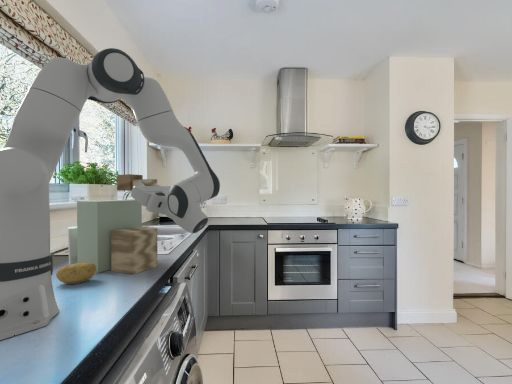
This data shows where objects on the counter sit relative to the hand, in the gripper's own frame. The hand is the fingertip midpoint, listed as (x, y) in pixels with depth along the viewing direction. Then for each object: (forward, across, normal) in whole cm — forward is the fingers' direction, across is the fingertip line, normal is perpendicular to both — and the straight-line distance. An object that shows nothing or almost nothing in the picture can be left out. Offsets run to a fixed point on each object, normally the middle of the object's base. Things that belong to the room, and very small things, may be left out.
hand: (145, 183), depth 106 cm
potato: (-8, +20, +33) cm, 39 cm away
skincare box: (+11, +5, +44) cm, 45 cm away
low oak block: (-11, 0, +31) cm, 33 cm away
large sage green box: (0, 0, +38) cm, 38 cm away
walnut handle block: (+2, 0, +4) cm, 5 cm away
